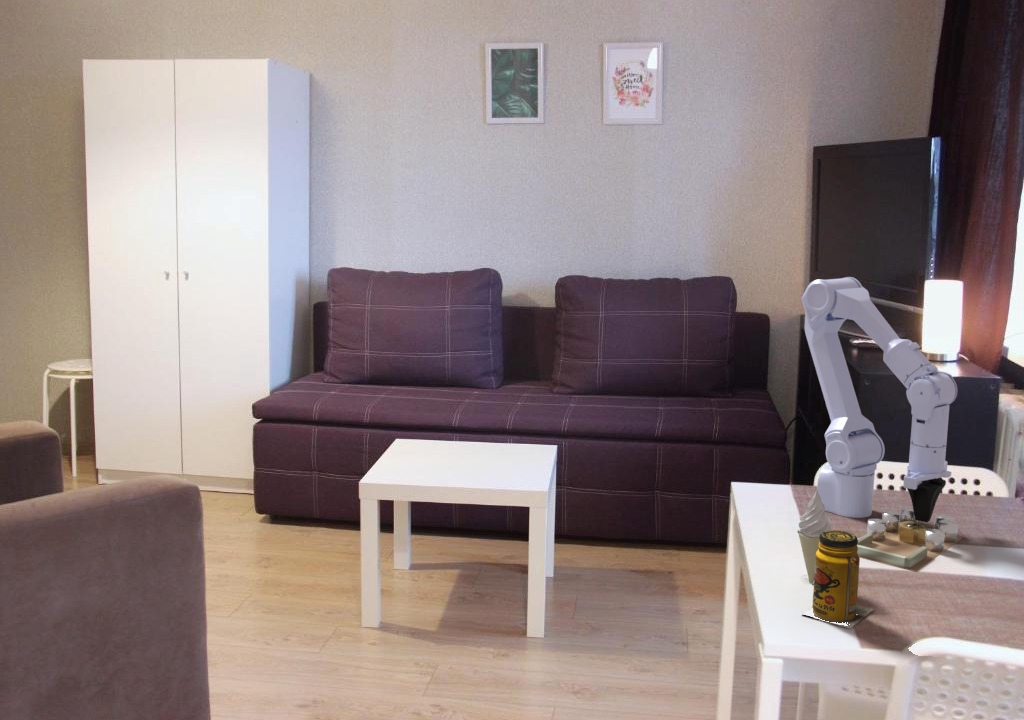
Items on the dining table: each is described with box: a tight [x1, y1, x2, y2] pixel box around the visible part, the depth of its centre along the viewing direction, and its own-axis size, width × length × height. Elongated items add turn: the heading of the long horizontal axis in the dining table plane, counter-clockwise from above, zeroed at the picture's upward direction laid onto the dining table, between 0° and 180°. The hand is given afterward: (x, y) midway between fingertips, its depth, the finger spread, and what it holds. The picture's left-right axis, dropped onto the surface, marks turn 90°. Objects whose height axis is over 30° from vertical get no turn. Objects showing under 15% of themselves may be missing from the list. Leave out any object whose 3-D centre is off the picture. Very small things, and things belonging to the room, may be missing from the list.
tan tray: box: [857, 527, 966, 573], centre depth 178 cm, size 12×22×3 cm, turn 138°
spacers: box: [866, 506, 959, 553], centre depth 181 cm, size 12×13×3 cm
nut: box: [898, 521, 926, 544], centre depth 180 cm, size 4×5×3 cm
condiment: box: [812, 529, 874, 629], centre depth 152 cm, size 7×8×12 cm
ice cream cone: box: [797, 489, 832, 584], centre depth 163 cm, size 5×5×15 cm
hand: (922, 520), depth 183 cm, fingers closed
